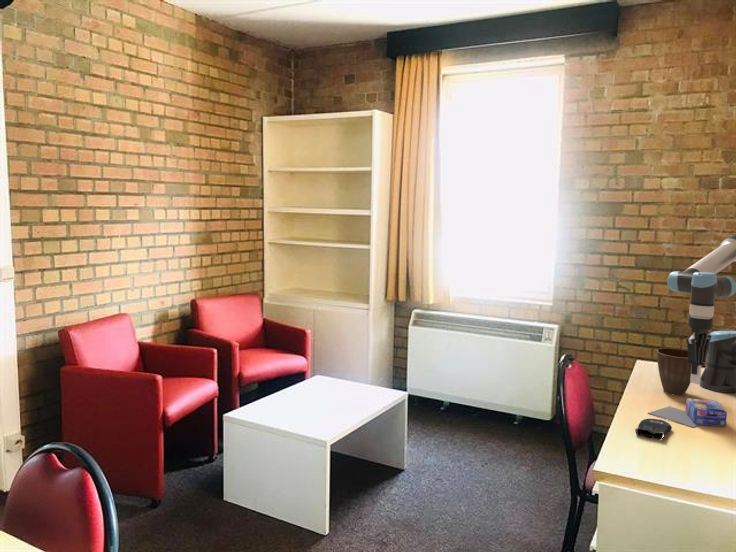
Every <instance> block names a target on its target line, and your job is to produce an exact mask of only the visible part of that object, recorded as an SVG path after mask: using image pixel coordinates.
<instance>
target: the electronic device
mask: <svg viewBox="0 0 736 552" xmlns="http://www.w3.org/2000/svg"><path fill="white" fill-rule="evenodd" d="M672 428H673V427H672V425H671V424H670V423H669V422H668V421H667V420H664V419H663V420H662V419H658V418H645V419H642V420H641V421H640V422H639V423H638V426H637V427H636V428H635V429H634V431H635V434H636V436H638V437H639V436H640V437H643V438H647V439H651V438H652V440H654V439H653V437H654V436H653V435H655V434H664V437H663V438H662V440H661V441H663V440H664V439H665V438H666V436H667V434H668V433H670V432H671V431H672ZM642 431H648V433H651V434H653V435H651V436H650V435H642Z"/></svg>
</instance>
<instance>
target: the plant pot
mask: <svg viewBox="0 0 736 552" xmlns="http://www.w3.org/2000/svg"><path fill="white" fill-rule="evenodd" d="M656 357H657V367H658V368H657V369H658V372H659V379H660V382H661V386H662V390H663V392H664V393H666V394H668V393H669V394H668V395H672V394H674V395H673V396H684V395H685V394H686V392H687V391H688V390H689V387H690V385H691V384H692V383H691V382H690V378H691V367H692V365H691V364H689V363H688V349H681V348H671V347H667V348H666V347H665V348H663V347H662V348H657V350H656Z"/></svg>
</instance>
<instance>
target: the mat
mask: <svg viewBox="0 0 736 552" xmlns="http://www.w3.org/2000/svg"><path fill="white" fill-rule="evenodd" d="M647 414H648V415H651V416H654V417H657V418H660V417H661V419H663V418H664V419H663V420H666V419H668V420H667V421H670V420H671V421H670V422H673V421H675V422H674V423H676V422H677V423H676V424H679V423H681V424H680V425H683V424H684V425H683V426H686V427H689V428H693V429H694V428H697V427H700V426H702V425H701V424H694V423H693V421H692V420H691V419H690V417H689V416H688V415H687V414H686V412H685V409H684V410H683V409H680V408H677V407H674V406H670V405H668V406H666V407H663V408H659V409H656V410H652V411H650V412H647Z"/></svg>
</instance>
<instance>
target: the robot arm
mask: <svg viewBox="0 0 736 552" xmlns="http://www.w3.org/2000/svg"><path fill="white" fill-rule="evenodd" d="M733 262H734V263H735V262H736V233H735V234H732V235H731V236H729V237H727V238H726V239H724V240H722V242H720V245H719V246H718V247H717V248H715V249H714V250H713V251H712V250H711V252H709V253H708V254H706V255H705V256H704V257H702V258H701V259H699V260H698V261H697V262H694V264H692V265H690V266H689V267H688V268H686V269H685V270H684V271H680V270H677V271H672V272H671V273H669V274H668V277H667V279H666V280H667V281H666V282H667V287H668V289H669V290H670V291H672V292H677V293H682V294H688V295H689V294H690V301H689V306H688V308H689V312H688V313H689V315H690V316H688V319H687V320H688V321H687V327H689V328H690V329H691V332H690V336H689V337H686V345H687V350H688V363H689V364H691V365H692V367H691V378H690V382H691V383H690V384H696V385H699V386H701V387H702V388H705V389H708V390H711V391H716V392H721V393H729V394H730V393H733V394H735V393H736V331H735V330H715V331H711V332H710V333H709V330H712V329H713V323H714V319H713V317H714V315H715V302H716V299H725V298H729V297H732V296H733V295H735V293H736V280H735V279H734V278H733V277H730V276H727V275H721V276H720V275H719V276H717V274H718V273H720V272H721V271H722V270H723V269H725V268H727V267H728V266H730V265H731V264H732V263H733ZM702 366H705V367H704V369H703V372H702Z"/></svg>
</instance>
